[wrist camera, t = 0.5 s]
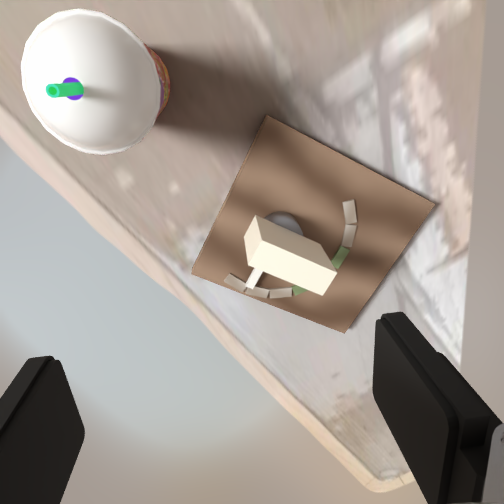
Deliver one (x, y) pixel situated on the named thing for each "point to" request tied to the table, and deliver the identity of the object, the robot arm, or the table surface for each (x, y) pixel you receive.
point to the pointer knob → (286, 253)
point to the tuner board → (312, 223)
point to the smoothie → (93, 81)
